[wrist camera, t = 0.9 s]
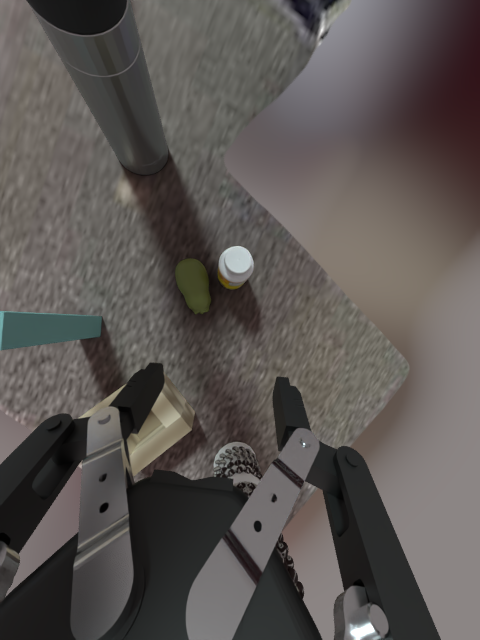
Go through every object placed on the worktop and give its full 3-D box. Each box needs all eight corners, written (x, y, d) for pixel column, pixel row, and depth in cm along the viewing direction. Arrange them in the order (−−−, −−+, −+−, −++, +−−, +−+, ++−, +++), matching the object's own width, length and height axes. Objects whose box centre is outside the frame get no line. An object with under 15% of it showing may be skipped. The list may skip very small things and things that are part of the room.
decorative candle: (212, 440, 36) (213, 694, 12) (259, 438, 38) (349, 662, 13) (209, 488, 36) (205, 849, 11) (256, 484, 38) (343, 801, 13)
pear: (202, 252, 31) (218, 311, 33) (202, 258, 36) (216, 308, 38) (167, 260, 30) (186, 320, 32) (172, 264, 35) (188, 315, 37)
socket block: (98, 403, 33) (73, 421, 27) (156, 362, 35) (144, 370, 29) (140, 454, 34) (125, 482, 28) (195, 411, 36) (191, 429, 30)
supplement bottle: (217, 261, 37) (218, 239, 27) (245, 262, 38) (257, 240, 27) (217, 290, 37) (219, 278, 27) (245, 290, 37) (257, 279, 27)
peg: (77, 335, 33) (-46, 348, 17) (79, 314, 33) (-42, 309, 17) (100, 336, 34) (0, 350, 18) (101, 316, 34) (3, 312, 18)
